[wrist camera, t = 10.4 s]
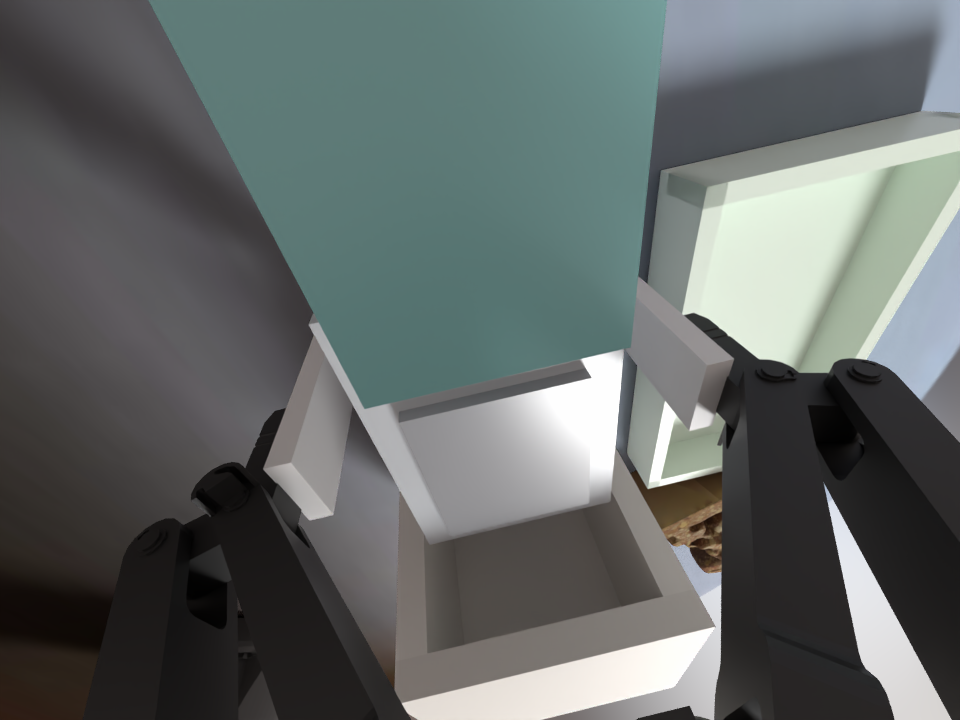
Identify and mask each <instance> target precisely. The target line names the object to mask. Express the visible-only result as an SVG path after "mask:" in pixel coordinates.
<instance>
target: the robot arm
mask: <svg viewBox="0 0 960 720" xmlns="http://www.w3.org/2000/svg"><path fill="white" fill-rule="evenodd" d="M624 350H625V351H626V352H627V353H628V355H629V356H630V357H631V358H632V360H633V361H634V362H635V363H636V365H637V366H638V367H639V368H640V370H641V371H642V372H643V373H644V375H645V376H646V377H647V379H648V380H649V381H650V382H651V384H652V385H653V386H654V387H655V389H656V390H657V391H658V392H659V394H660V395H661V396H662V397H663V399H664V400H665V401H666V402H667V404H668V405H669V406H670V408H671V409H672V410H673V411H674V413H675V414H676V415H677V416H678V418H679V419H680V420H681V421H682V423H683V424H684V425H685V426H686V428H687V429H688V430H689V431H691V430H696V429H700V428H704V427H708V426H712V425H713V422H714V419H715V416H716V413H718V414H719V415H720V416H721V417H722V418H723V420H724V421H725V424H724V427H723V430H722V432H721V435H720V438H719V441H718V444H717V445H718V446H721V445H722V579H721V588H722V589H721V664H720V671H719V676H718V680H717V685H716V694H715V714H714V715H715V716H714V720H894V716H893V712H892V709H891V706H890V703H889V700H888V697H887V694H886V692H885V690H884V688H883V687H882V685H881V683H880V681H879V680H878V679H877V678H876V677H875V676H874V675H872V674H871V673H870V672H869V671H867V670H866V669H865V667H864V665H863V663H862V662H861V659H860V655H859V652H858V647H857V642H856V637H855V633H854V628H853V623H852V618H851V613H850V608H849V603H848V599H847V594H846V589H845V584H844V580H843V574H842V570H841V565H840V560H839V555H838V550H837V545H836V541H835V536H834V532H833V526H832V522H831V516H830V512H829V507H828V502H827V497H826V492H825V488H824V484H825V485H826V487H827V489H828V491H829V493H830V495H831V497H832V498H833V500H834V502H835V504H836V506H837V507H838V509H839V511H840V513H841V515H842V517H843V519H844V521H845V522H846V524H847V526H848V528H849V530H850V532H851V534H852V535H853V537H854V539H855V541H856V543H857V545H858V546H859V549H860V550H861V552H862V554H863V556H864V558H865V560H866V562H867V563H868V565H869V567H870V569H871V571H872V573H873V574H874V576H875V578H876V580H877V582H878V584H879V585H880V587H881V589H882V591H883V593H884V595H885V597H886V599H887V600H888V602H889V604H890V606H891V608H892V610H893V612H894V613H895V615H896V617H897V619H898V621H899V623H900V624H901V626H902V628H903V630H904V632H905V634H906V635H907V638H908V639H909V641H910V643H911V645H912V646H913V649H914V651H915V652H916V654H917V656H918V658H919V660H920V662H921V664H922V665H923V667H924V669H925V671H926V673H927V675H928V676H929V678H930V680H931V682H932V684H933V686H934V688H935V690H936V691H937V693H938V695H939V697H940V699H941V701H942V702H943V704H944V706H945V708H946V710H947V712H948V714H949V716H950V717H951V719H952V720H960V443H959V442H958V441H957V440H956V438H955V437H954V436H953V435H952V434H951V433H950V432H949V431H948V430H947V429H946V428H945V427H944V426H943V424H942V423H941V422H940V421H939V420H938V419H937V418H936V417H935V416H934V415H933V414H932V413H931V411H930V410H929V409H928V408H927V407H926V406H925V405H924V404H923V403H922V402H921V401H920V400H919V399H918V397H917V396H916V395H915V394H914V393H913V392H912V391H911V390H910V389H909V388H908V387H907V386H906V385H905V383H904V382H903V381H902V380H901V379H900V378H899V377H898V376H897V375H896V374H895V373H894V372H892V371H891V370H890V369H888V368H887V367H885V366H882V365H880V364H878V363H876V362H872V361H869V360H864V359H855V358H848V359H841V360H838V361H836V362H834V364H833V366H832V368H831V369H830V371H829V373H799V372H798V371H796V370H795V369H794V368H792V367H791V366H789V365H787V364H784V363H782V362H779V361H774V360H765V359H758V358H757V357H756V356H754V355H753V354H752V353H751V352H749V351H748V350H747V349H746V348H744V347H743V346H742V345H741V344H739V343H738V342H737V341H736V340H734V339H733V338H732V337H731V336H728V334H727V333H726V332H724V331H723V330H722V329H719V327H718V326H717V325H716V324H714V323H713V322H712V321H711V320H709V319H708V318H705V317H703V316H700V315H698V314H696V313H691V314H686V315H683V314H682V313H680V312H679V311H678V310H677V309H676V308H675V307H673V306H672V305H671V304H670V303H669V302H668V301H666V300H665V299H664V298H663V297H662V296H661V295H660V294H658V293H657V292H656V291H655V290H654V289H653V288H651V287H650V286H649V285H648V284H647V283H646V282H644V281H643V280H642V279H641V278H640V277H639V276H638V284H637V293H636V303H635V313H634V322H633V332H632V341H631V347H630V348H626V349H624ZM352 408H353V404H352V403H351V401H350V399H349V397H348V395H347V394H346V392H345V390H344V388H343V386H342V385H341V383H340V381H339V379H338V377H337V375H336V374H335V372H334V370H333V368H332V366H331V365H330V363H329V361H328V359H327V357H326V356H325V354H324V352H323V350H322V348H321V346H320V345H319V343H318V341H317V339H316V337H315V336H313V339H312V341H311V344H310V347H309V349H308V352H307V355H306V357H305V360H304V363H303V365H302V368H301V370H300V373H299V376H298V378H297V381H296V384H295V386H294V389H293V392H292V394H291V397H290V399H289V402H288V405H287V407H286V408H285V409H281V410H277V411H274V413H273V414H272V415H271V416H270V417H269V418H268V420H267V421H266V422H265V423H264V426H263V428H262V430H261V433H260V437H259V438H258V440H257V442H256V444H255V446H256V447H255V448H254V449H253V451H252V454H251V456H250V458H249V461H248V463H247V466H246V468H244V467H243V466H242V465H241V464H240V463H235V462H230V463H226V464H222V465H221V466H219V467H217V468H215V469H213V470H211V471H210V472H209V473H207V474H206V475H205V476H204V477H203V478H202V479H201V480H200V481H199V482H198V483H197V484H196V486H195V488H194V490H193V492H192V494H191V501H192V502H193V503H194V504H195V505H197V506H198V507H199V508H200V509H201V510H203V511H204V512H205V513H206V514H205V515H203V516H201V517H199V518H197V519H195V520H193V521H191V522H189V523H187V524H185V525H183V524H181V523H180V522H178V521H177V520H176V519H174V518H172V519H164V520H161V521H158V522H156V523H154V524H153V525H151V526H149V527H148V528H146V529H145V530H144V531H143V532H141V533H140V534H139V535H138V536H137V537H136V538H135V539H134V540H133V542H132V543H131V544H130V545H129V547H128V548H127V550H126V553H125V555H124V557H123V561H122V565H121V569H120V573H119V577H118V581H117V585H116V589H115V593H114V597H113V601H112V605H111V609H110V613H109V617H108V621H107V625H106V629H105V633H104V637H103V641H102V645H101V649H100V653H99V657H98V661H97V664H96V668H95V672H94V676H93V680H92V684H91V688H90V692H89V696H88V700H87V704H86V708H85V712H84V716H83V720H411V719H410V717H409V715H408V714H407V712H406V710H405V708H404V706H403V705H402V703H401V701H400V699H399V698H398V696H397V694H396V692H395V691H394V689H393V687H392V685H391V683H390V682H389V680H388V678H387V676H386V675H385V673H384V671H383V669H382V668H381V666H380V664H379V662H378V660H377V659H376V657H375V655H374V653H373V652H372V650H371V648H370V646H369V645H368V643H367V641H366V639H365V638H364V636H363V634H362V632H361V630H360V629H359V627H358V625H357V623H356V622H355V620H354V618H353V616H352V615H351V613H350V611H349V609H348V607H347V606H346V604H345V602H344V600H343V599H342V597H341V595H340V593H339V592H338V590H337V588H336V586H335V585H334V583H333V581H332V579H331V577H330V576H329V574H328V572H327V570H326V569H325V567H324V565H323V563H322V562H321V560H320V558H319V556H318V554H317V553H316V551H315V549H314V547H313V546H312V544H311V542H310V540H309V539H308V537H307V535H306V533H305V531H304V530H303V528H302V527H301V526H300V525H299V524H298V522H299V518H300V514H301V511H302V512H303V514H304V515H305V516H306V517H307V518H308V519H309V520H314V519H318V518H322V517H327V516H331V515H334V510H335V504H336V498H337V493H338V487H339V481H340V476H341V470H342V464H343V459H344V453H345V447H346V442H347V436H348V431H349V425H350V419H351V414H352ZM823 482H824V483H823ZM237 597H238V600H239V603H240V606H241V609H242V612H243V615H244V618H238V611H237ZM637 720H709V719H706V718H702V717H697V716H694V715H693V712H692V710H691V708H690V706H687V707H683V708H679V709H675V710H671V711H667V712H663V713H658V714H654V715H650V716H646V717H642V718H638V719H637Z"/></svg>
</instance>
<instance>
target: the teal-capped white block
mask: <svg viewBox="0 0 960 720" xmlns="http://www.w3.org/2000/svg"><path fill="white" fill-rule="evenodd" d="M148 1H149V3H150V5H151V6H152V8H153V10H154V12H155V14H156V16H157V18H158V20H159V22H160V23H161V25H162V27H163V29H164V31H165V33H166V35H167V37H168V39H169V40H170V42H171V44H172V46H173V48H174V50H175V52H176V54H177V56H178V57H179V59H180V61H181V63H182V65H183V67H184V69H185V71H186V73H187V74H188V76H189V78H190V80H191V82H192V84H193V86H194V88H195V90H196V91H197V93H198V95H199V97H200V99H201V101H202V103H203V105H204V107H205V109H206V110H207V112H208V114H209V116H210V118H211V120H212V122H213V124H214V126H215V127H216V129H217V131H218V133H219V135H220V137H221V139H222V141H223V143H224V144H225V146H226V148H227V150H228V152H229V154H230V156H231V158H232V160H233V161H234V163H235V165H236V167H237V169H238V171H239V173H240V175H241V177H242V178H243V180H244V182H245V184H246V186H247V188H248V190H249V192H250V194H251V196H252V197H253V199H254V201H255V203H256V205H257V207H258V209H259V211H260V213H261V214H262V216H263V218H264V220H265V222H266V224H267V226H268V228H269V230H270V231H271V233H272V235H273V237H274V239H275V241H276V243H277V245H278V247H279V248H280V250H281V252H282V254H283V256H284V258H285V260H286V262H287V264H288V265H289V267H290V269H291V271H292V273H293V275H294V277H295V279H296V281H297V283H298V284H299V286H300V288H301V290H302V292H303V294H304V296H305V298H306V300H307V301H308V303H309V305H310V307H311V309H312V311H313V315H312V317H311V320H310V322H309V324H308V325H309V327H310V328H311V330H312V332H313V334H314V336H315V337H316V339H317V341H318V343H319V345H320V346H321V348H322V350H323V352H324V354H325V356H326V357H327V359H328V361H329V363H330V365H331V366H332V368H333V370H334V372H335V374H336V375H337V377H338V379H339V381H340V383H341V385H342V386H343V388H344V390H345V392H346V394H347V395H348V397H349V399H350V401H351V403H352V404H353V406H354V408H355V410H356V412H357V414H358V415H359V417H360V419H361V421H362V423H363V424H364V426H365V428H366V430H367V432H368V433H369V435H370V437H371V439H372V441H373V443H374V444H375V446H376V448H377V450H378V452H379V453H380V455H381V457H382V459H383V461H384V463H385V464H386V466H387V468H388V470H389V472H390V473H391V475H392V477H393V479H394V481H395V482H396V484H397V486H398V488H399V490H400V492H401V493H402V495H403V497H404V499H405V501H406V502H407V504H408V506H409V508H410V510H411V511H412V513H413V515H414V517H415V519H416V521H417V522H418V524H419V526H420V528H421V530H422V531H423V533H424V535H425V537H426V539H427V540H428V542H429V544H430V545H431V544H435V543H439V542H443V541H448V540H452V539H456V538H460V537H465V536H469V535H473V534H477V533H481V532H486V531H490V530H494V529H498V528H502V527H507V526H511V525H515V524H519V523H524V522H528V521H532V520H536V519H540V518H545V517H549V516H553V515H557V514H561V513H566V512H570V511H574V510H578V509H583V508H587V507H591V506H595V505H599V504H604V503H608V502H610V500H611V489H612V477H613V466H614V455H615V444H616V433H617V422H618V410H619V399H620V388H621V377H622V366H623V355H624V349H626V348H630V347H631V341H632V332H633V322H634V313H635V303H636V293H637V284H638V274H639V264H640V255H641V245H642V235H643V226H644V216H645V207H646V197H647V187H648V178H649V168H650V158H651V149H652V139H653V130H654V120H655V110H656V101H657V91H658V81H659V72H660V62H661V53H662V43H663V33H664V24H665V14H666V4H667V0H148Z"/></svg>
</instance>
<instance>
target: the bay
mask: <svg viewBox="0 0 960 720" xmlns="http://www.w3.org/2000/svg"><path fill="white" fill-rule="evenodd" d="M714 628H715V625H714V623H713V621H712V619H711V618H710V616H709V614H708V612H707V610H706V608H705V607H704V605H703V603H702V601H701V600H700V598H699V596H698V594H697V592H696V591H695V589H694V587H693V585H692V583H691V582H690V580H689V578H688V576H687V574H686V573H685V571H684V569H683V567H682V566H681V564H680V562H679V560H678V558H677V557H676V555H675V553H674V551H673V549H672V548H671V546H670V544H669V542H668V540H667V539H666V537H665V535H664V533H663V532H662V530H661V528H660V526H659V524H658V523H657V521H656V519H655V517H654V515H653V514H652V512H651V510H650V508H649V507H648V505H647V503H646V501H645V499H644V498H643V496H642V494H641V492H640V490H639V489H638V487H637V485H636V483H635V481H634V480H633V478H632V476H631V474H630V473H629V471H628V469H627V467H626V465H625V464H624V462H623V460H622V458H621V456H620V455H619V453H618V451H617V449H616V447H615V455H614V466H613V477H612V489H611V500H610V502H608V503H604V504H599V505H595V506H591V507H587V508H583V509H578V510H574V511H570V512H566V513H561V514H557V515H553V516H549V517H545V518H540V519H536V520H532V521H528V522H524V523H519V524H515V525H511V526H507V527H502V528H498V529H494V530H490V531H486V532H481V533H477V534H473V535H469V536H465V537H460V538H456V539H452V540H448V541H443V542H439V543H435V544H431V545H430V544H429V542H428V540H427V539H426V537H425V535H424V533H423V531H422V530H421V528H420V526H419V524H418V522H417V521H416V519H415V517H414V515H413V513H412V511H411V510H410V508H409V506H408V504H407V502H406V501H405V499H404V497H403V495H402V493H401V492H400V501H399V540H398V579H397V618H396V657H395V692H396V694H397V696H398V698H399V699H400V701H401V703H402V705H403V706H404V708H405V710H406V712H407V713H408V714H410V715H411V716H413V717H415V718H416V719H418V720H542V719H546V718H550V717H554V716H558V715H563V714H566V713H571V712H575V711H578V710H583V709H587V708H591V707H595V706H599V705H603V704H607V703H611V702H615V701H620V700H624V699H628V698H632V697H636V696H640V695H643V694H648V693H652V692H656V691H660V690H664V689H668V688H672V687H675V685H676V683H677V682H678V681H679V679H680V678H681V676H682V675H683V673H684V672H685V670H686V669H687V668H688V666H689V665H690V663H691V662H692V660H693V659H694V657H695V656H696V655H697V653H698V652H699V650H700V649H701V647H702V646H703V644H704V643H705V641H706V640H707V638H708V637H709V636H710V634H711V633H712V631H713V630H714Z"/></svg>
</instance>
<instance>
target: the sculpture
mask: <svg viewBox="0 0 960 720" xmlns="http://www.w3.org/2000/svg"><path fill="white" fill-rule="evenodd" d="M630 474H631V476H632V478H633V480H634V481H635V483H636V485H637V487H638V489H639V490H640V492H641V494H642V496H643V498H644V499H645V501H646V503H647V505H648V507H649V508H650V510H651V512H652V514H653V515H654V517H655V519H656V521H657V523H658V524H659V526H660V528H661V530H662V532H663V533H664V535H665V537H666V539H667V540H668V541H669V542H670V543H671V544H672V545H673V546H677V547H678V546H680V545H683V544H685V545H686V546H687V547H690V552H691V554H692V556H693V558H694V559H695V561H696V563H697V564H698V565H699V567H700V568H701V569H702V570H703V571H704V572H706V573H716V572H722V471H721V472H717V473H713V474H709V475H705V476H701V477H696V478H692V479H688V480H684V481H680V482H675V483H671V484H667V485H663V486H659V487H654V488H650V489H647V487H646V485H645V484H644V482H643V480H642V478H641V477H640V475H639V473H638V472H637V470H636V471H634V472H632V473H630Z"/></svg>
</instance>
